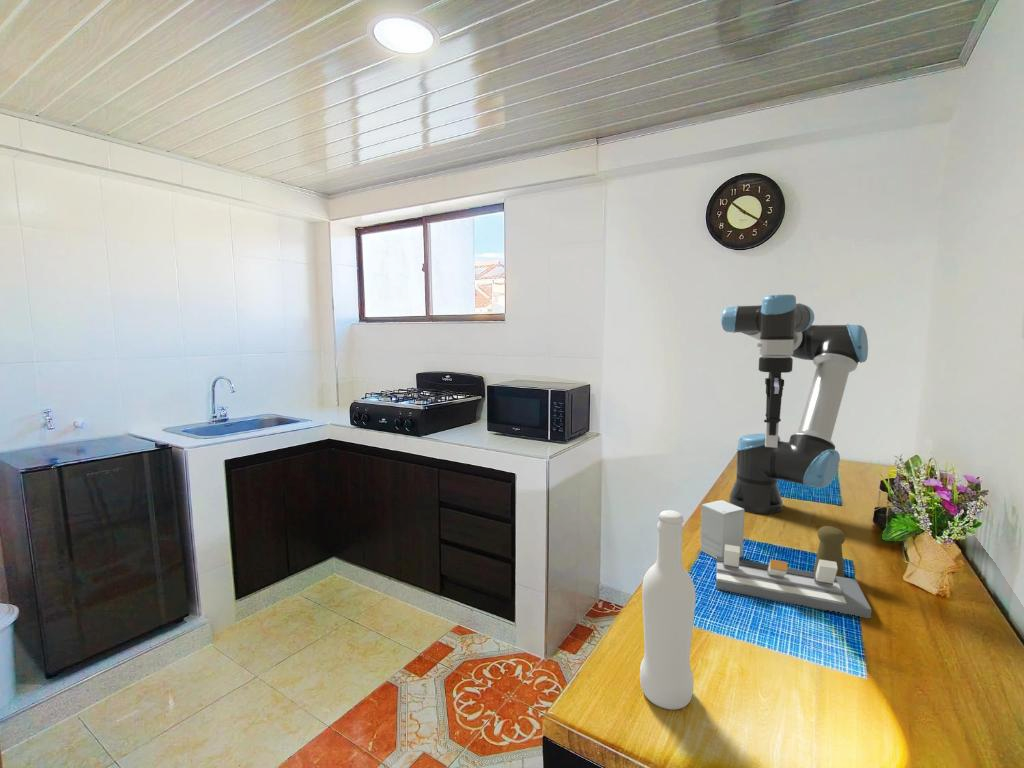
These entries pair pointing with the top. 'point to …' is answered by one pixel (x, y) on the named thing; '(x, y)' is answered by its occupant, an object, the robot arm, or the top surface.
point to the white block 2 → (826, 572)
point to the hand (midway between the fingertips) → (771, 446)
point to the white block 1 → (731, 556)
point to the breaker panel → (793, 588)
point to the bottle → (668, 620)
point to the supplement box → (721, 527)
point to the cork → (831, 547)
